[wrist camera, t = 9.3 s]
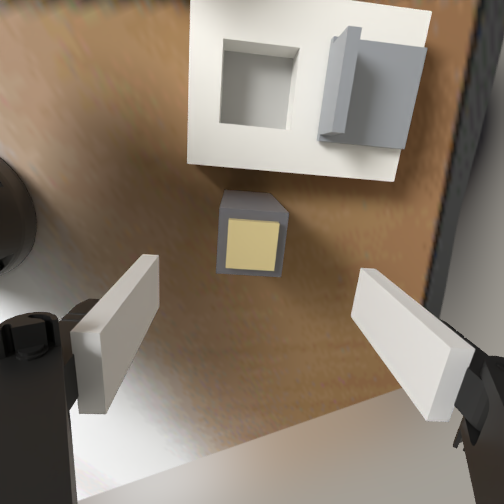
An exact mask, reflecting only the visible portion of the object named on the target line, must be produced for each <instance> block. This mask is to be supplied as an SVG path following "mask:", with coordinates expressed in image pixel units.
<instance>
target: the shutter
mask: <svg viewBox="0 0 504 504" xmlns="http://www.w3.org/2000/svg"><path fill="white" fill-rule="evenodd" d="M361 31H362V27H355V26H348V27H347V28H346V29H345V30H344V31H343V32H342V34H341V35H340V36H339V37H337V36H334V37H333V38H332V39H331V43H330V50H329V57H328V64H327V71H326V78H325V85H324V92H323V99H322V106H321V114H320V121H319V128H318V135H317V141H320V142H331V143H341V144H351V145H362V146H372V147H382V148H393V149H405V145H406V140H407V136H408V132H409V127H410V123H411V118H412V114H413V110H414V105H415V101H416V96H417V92H418V88H419V83H420V79H421V74H422V70H423V66H424V61H425V57H426V52H427V48H425V47H417V46H409V45H401V44H393V43H385V42H377V41H369V40H361V39H360V37H361Z"/></svg>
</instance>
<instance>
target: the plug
mask: <svg viewBox="0 0 504 504" xmlns="http://www.w3.org/2000/svg"><path fill="white" fill-rule="evenodd" d="M288 218H289V212H288V211H287V210H286V209H285V208H284V207H283V206H282V205H281V204H280V203H279V202H278V201H277V200H276V199H275V198H274V197H273V196H272V194H271V193H262V192H250V191H238V190H226V189H225V190H224V194H223V197H222V201H221V204H220V208H219V227H218V245H217V264H216V273H219V274H236V275H253V276H270V277H281V274H282V266H283V258H284V250H285V242H286V234H287V226H288Z"/></svg>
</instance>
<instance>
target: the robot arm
mask: <svg viewBox="0 0 504 504" xmlns="http://www.w3.org/2000/svg"><path fill="white" fill-rule="evenodd" d="M35 235H36V215H35V210H34V206H33V203H32V200H31V198H30V195H29V193H28V191H27V189H26V188H25V186H24V184H23V183H22V181H21V180H20V178H19V177H18V176H17V175H16V173H15V172H14V171H13V170H12V169H11V168H10V167H9V166H8V165H7V164H6V163H5V162H4V161H3V160H2V159H0V275H2V274H4V273H6V272H8V271H10V270H12V269H13V268H15V267H16V266H18V265H19V264H20V263H21V262H22V261H23V260H24V259H25V258H26V256H27V255H28V254H29V252H30V250H31V248H32V246H33V243H34V240H35ZM158 308H159V255H149V254H142V255H141V256H140V257H139V259H138V260H137V261H136V262H135V263H134V264H133V265H132V266H131V267H130V268H129V269H128V270H127V271H126V272H125V274H124V275H123V276H122V277H121V278H120V279H119V280H118V281H117V282H116V283H115V284H114V285H113V286H112V287H111V289H110V290H109V291H108V292H107V293H106V294H105V295H104V296H103V297H102V298H101V299H88V300H86V301H84V302H82V303H80V304H78V305H76V306H75V307H74V308H73V309H72V310H71V311H70V312H69V313H68V314H67V315H65V316H64V317H63V318H62V321H59V322H58V318H57V317H56V315H54V314H51V313H46V312H34V313H26V314H22V315H18V316H15V317H12V318H10V319H7V320H5V321H4V322H2V323H1V324H0V504H77V492H76V480H75V468H74V456H73V444H72V433H71V421H70V413H69V410H70V409H71V407H72V406H73V404H74V402H75V401H76V399H78V409H79V414H106V413H107V411H108V409H109V407H110V405H111V403H112V401H113V399H114V397H115V395H116V393H117V391H118V389H119V387H120V385H121V383H122V381H123V379H124V377H125V375H126V373H127V371H128V369H129V367H130V365H131V363H132V361H133V359H134V357H135V355H136V353H137V351H138V349H139V347H140V345H141V343H142V341H143V339H144V337H145V335H146V333H147V331H148V329H149V327H150V325H151V323H152V321H153V319H154V317H155V315H156V312H157V310H158ZM351 317H352V319H353V320H354V321H355V323H356V324H357V326H358V327H359V328H360V330H361V331H362V333H363V334H364V335H365V337H366V338H367V339H368V341H369V342H370V344H371V345H372V346H373V348H374V349H375V350H376V352H377V353H378V355H379V356H380V357H381V359H382V360H383V362H384V363H385V364H386V366H387V367H388V368H389V370H390V371H391V373H392V374H393V375H394V377H395V378H396V380H397V381H398V382H399V384H400V385H401V386H402V388H403V389H404V391H405V392H406V393H407V395H408V396H409V398H410V399H411V400H412V402H413V403H414V404H415V406H416V407H417V409H418V410H419V411H420V413H421V414H422V415H423V417H424V418H425V420H426V421H441V422H449V420H450V417H451V415H452V412H453V409H454V406H455V407H456V408H457V409H458V410H459V411H460V412H461V414H462V415H463V418H462V421H461V424H460V427H459V429H458V432H457V434H456V437H455V440H454V443H453V447H455V448H457V447H458V445H459V443H460V442H463V444H464V449H463V451H465V454H466V459H467V463H468V468H469V473H470V478H471V482H472V486H473V491H474V496H475V501H476V504H504V357H499V356H488V355H487V354H486V353H485V352H483V351H482V350H481V349H479V348H478V347H477V346H476V345H474V344H473V343H472V342H470V341H469V340H468V339H467V338H464V336H463V335H462V334H460V333H459V332H458V331H456V330H455V329H454V328H453V327H452V326H450V325H449V324H448V323H446V322H445V321H442V320H441V319H439V318H437V317H435V316H434V315H432V314H431V313H430V312H429V311H427V310H426V309H425V308H424V307H422V306H421V305H420V304H419V303H417V302H416V301H415V300H414V299H412V298H411V297H410V296H409V295H407V294H406V293H405V292H404V291H402V290H401V289H400V288H399V287H397V286H396V285H395V284H394V283H392V282H391V281H390V280H389V279H388V278H386V277H385V276H384V275H383V274H381V273H380V272H379V271H378V270H376V269H370V268H361V270H360V274H359V279H358V284H357V289H356V294H355V298H354V303H353V308H352V313H351Z"/></svg>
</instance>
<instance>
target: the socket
mask: <svg viewBox="0 0 504 504" xmlns="http://www.w3.org/2000/svg"><path fill="white" fill-rule="evenodd" d="M431 14H432V11H425V10H418V9H411V8H403V7H396V6H388V5H381V4H374V3H366V2H359V1H352V0H190V46H189V94H188V143H187V164H196V165H208V166H219V167H231V168H242V169H254V170H265V171H276V172H288V173H299V174H311V175H322V176H333V177H345V178H356V179H368V180H379V181H390V182H394V179H395V175H396V170H397V166H398V161H399V157H400V152H401V149H393V148H382V147H372V146H362V145H351V144H341V143H331V142H320V141H317V135H318V128H319V121H320V114H321V106H322V99H323V92H324V85H325V78H326V71H327V64H328V57H329V50H330V43H331V39H332V38H333V37H334V36H337V37H339V36H340V35H341V34H342V32H343V31H344V30H345V29H346V28H347V27H348V26H355V27H362V31H361V37H360V39H361V40H369V41H377V42H385V43H393V44H401V45H409V46H417V47H424V45H425V41H426V36H427V32H428V27H429V23H430V18H431Z"/></svg>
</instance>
